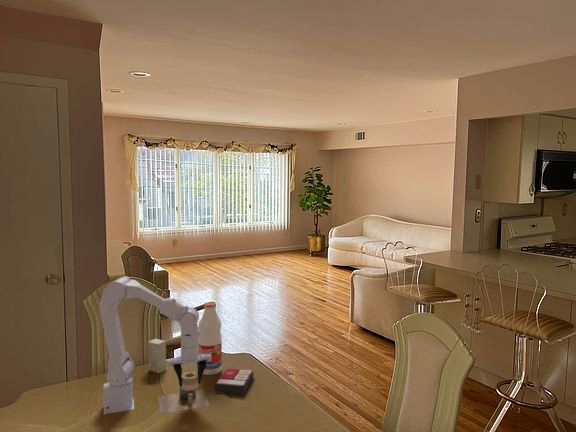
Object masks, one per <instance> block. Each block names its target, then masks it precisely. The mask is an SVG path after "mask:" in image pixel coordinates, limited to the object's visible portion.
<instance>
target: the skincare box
mask: <svg viewBox="0 0 576 432" xmlns="http://www.w3.org/2000/svg"><path fill="white" fill-rule="evenodd" d="M147 344H148V346H147V347H148V349H147V350H148V351H147V352H148V370H149V371H150V372H154V373H156V374H160V373H163V372H165V371H167V368H168V365H167V341H166V340H164V339H158V338H154V339H151V340H148V342H147Z"/></svg>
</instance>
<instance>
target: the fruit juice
mask: <svg viewBox="0 0 576 432" xmlns="http://www.w3.org/2000/svg"><path fill="white" fill-rule="evenodd" d="M203 308H204V310H203V313H202V317H201V319H199V321H198V332H199V333H198V354H211V361H206V363H207V365H206V368H205V370H204V372H203V374H202V376H204V375H205V376H213V375H217V374H219V373H221V372H222V363H223V362H222V360H223V359H222V356H223V355H222V349H223V348H222V345H223V342H222V341H223V340H222V333H221V328H222V322H221V320H220V318H219V315H218V313H217V310H216V308H217V303H216V302H213V301H210V302H209V301H208V302H204V303H203Z"/></svg>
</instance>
